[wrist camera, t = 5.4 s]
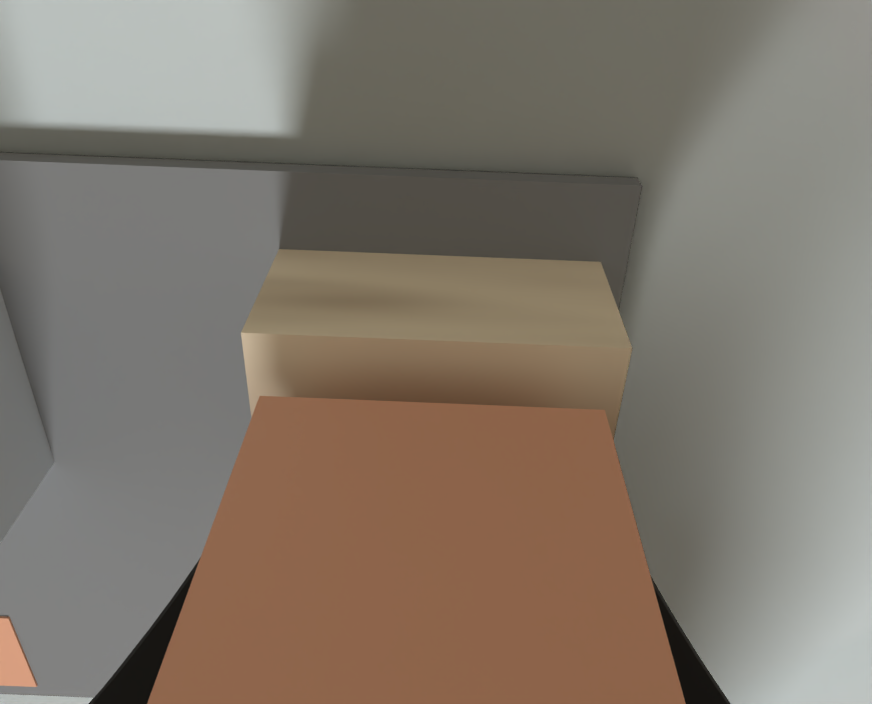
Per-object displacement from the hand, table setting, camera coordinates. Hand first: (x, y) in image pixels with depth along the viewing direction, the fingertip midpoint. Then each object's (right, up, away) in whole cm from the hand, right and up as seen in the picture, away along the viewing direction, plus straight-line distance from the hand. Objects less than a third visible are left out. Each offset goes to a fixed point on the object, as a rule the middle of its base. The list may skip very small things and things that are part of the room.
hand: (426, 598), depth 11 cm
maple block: (0, +3, +5) cm, 5 cm away
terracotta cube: (0, +1, +1) cm, 1 cm away
